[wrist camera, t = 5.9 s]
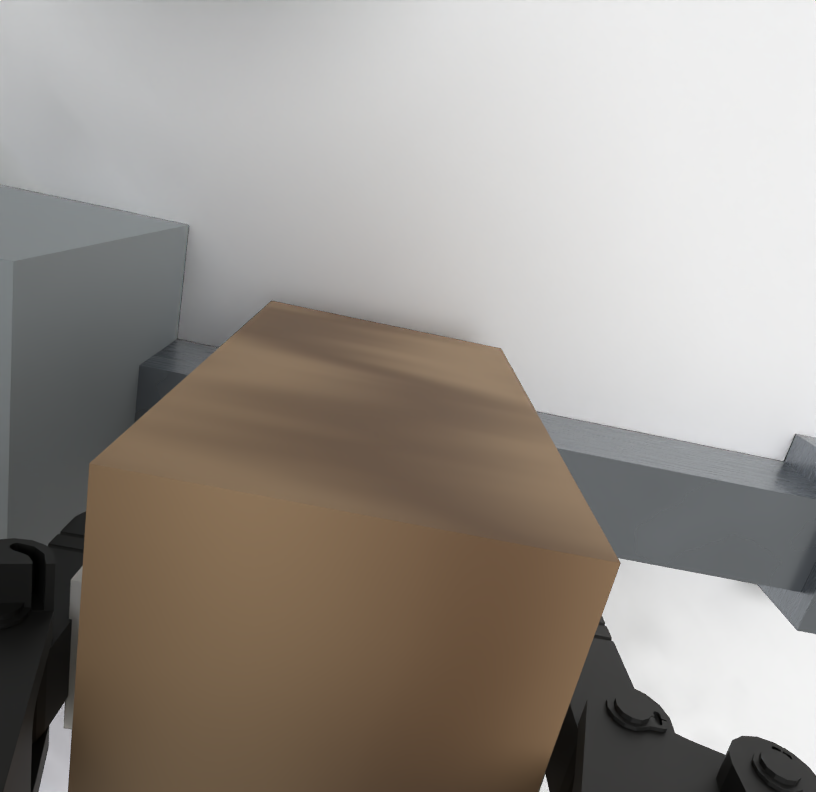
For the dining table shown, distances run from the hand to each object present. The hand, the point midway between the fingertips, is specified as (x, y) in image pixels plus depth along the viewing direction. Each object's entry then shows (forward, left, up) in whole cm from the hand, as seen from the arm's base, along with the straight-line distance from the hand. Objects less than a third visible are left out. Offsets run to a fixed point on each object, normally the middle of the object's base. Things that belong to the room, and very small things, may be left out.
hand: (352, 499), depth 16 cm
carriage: (0, 0, -5) cm, 5 cm away
